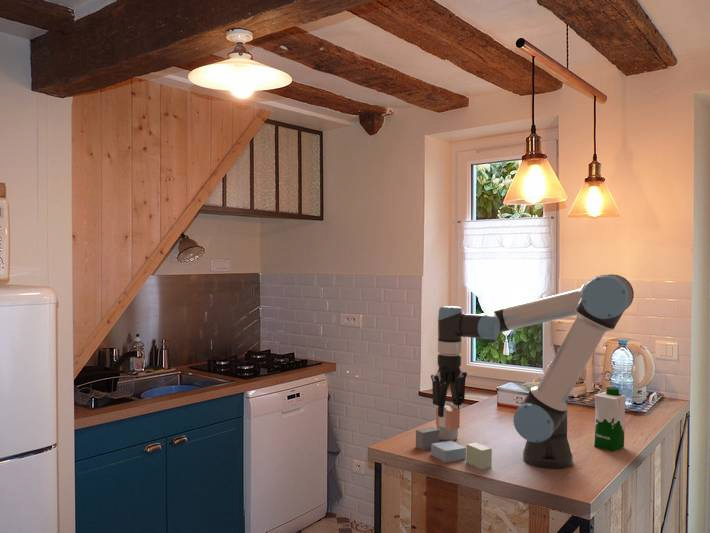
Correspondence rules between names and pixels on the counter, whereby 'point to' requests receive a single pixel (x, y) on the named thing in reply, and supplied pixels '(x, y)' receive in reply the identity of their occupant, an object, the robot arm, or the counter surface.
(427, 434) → the charcoal brick
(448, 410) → the terracotta brick
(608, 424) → the milk carton
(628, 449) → the counter surface
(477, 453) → the sage brick
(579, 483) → the counter surface
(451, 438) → the can
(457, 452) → the slate blue brick
